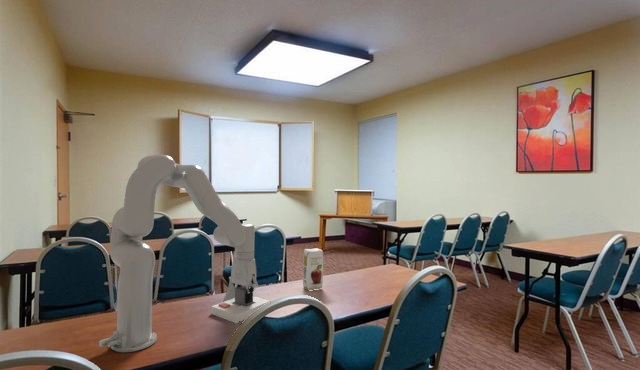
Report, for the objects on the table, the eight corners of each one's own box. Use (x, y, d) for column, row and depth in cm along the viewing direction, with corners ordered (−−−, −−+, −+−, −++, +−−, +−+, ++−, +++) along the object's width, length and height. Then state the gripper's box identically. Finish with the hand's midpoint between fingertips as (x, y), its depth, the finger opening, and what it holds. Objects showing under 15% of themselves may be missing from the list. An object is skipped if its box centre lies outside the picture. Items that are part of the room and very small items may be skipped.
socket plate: (236, 323, 122) (236, 313, 122) (211, 313, 130) (211, 304, 130) (270, 308, 137) (270, 299, 137) (245, 300, 145) (246, 292, 145)
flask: (220, 301, 144) (220, 277, 143) (231, 296, 150) (232, 274, 150) (233, 304, 140) (233, 280, 140) (244, 299, 147) (245, 276, 146)
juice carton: (301, 287, 164) (302, 248, 164) (316, 285, 168) (317, 247, 168) (308, 292, 158) (309, 251, 158) (324, 289, 162) (325, 250, 162)
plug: (243, 306, 131) (243, 285, 131) (234, 303, 134) (235, 283, 133) (252, 302, 135) (253, 282, 135) (244, 299, 138) (244, 280, 138)
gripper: (222, 253, 136) (221, 299, 136) (253, 260, 126) (252, 308, 126) (237, 250, 142) (236, 294, 142) (267, 256, 132) (266, 302, 133)
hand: (243, 300), depth 134 cm, fingers closed on plug, 5 cm apart
